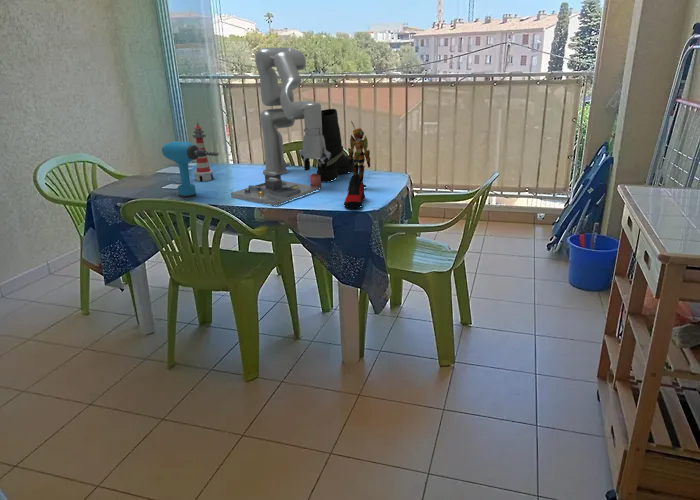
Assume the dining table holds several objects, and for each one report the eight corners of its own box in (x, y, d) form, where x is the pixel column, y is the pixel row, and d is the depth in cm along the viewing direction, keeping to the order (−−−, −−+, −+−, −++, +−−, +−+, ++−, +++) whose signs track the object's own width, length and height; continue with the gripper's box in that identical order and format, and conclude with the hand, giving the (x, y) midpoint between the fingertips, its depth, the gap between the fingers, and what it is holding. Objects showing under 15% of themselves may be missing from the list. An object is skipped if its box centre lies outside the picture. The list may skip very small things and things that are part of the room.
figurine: (373, 188, 229) (373, 119, 218) (366, 192, 223) (366, 122, 212) (352, 185, 234) (351, 118, 223) (345, 189, 228) (343, 120, 217)
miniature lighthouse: (217, 177, 255) (210, 115, 244) (210, 181, 246) (203, 118, 235) (199, 177, 256) (191, 115, 245) (192, 181, 247) (183, 118, 236)
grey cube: (273, 188, 224) (273, 176, 222) (282, 189, 221) (281, 177, 219) (265, 190, 220) (264, 178, 218) (274, 192, 218) (273, 180, 216)
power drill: (229, 196, 220) (223, 142, 212) (216, 201, 213) (210, 145, 204) (176, 191, 230) (169, 139, 222) (163, 196, 223) (155, 142, 214)
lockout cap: (315, 186, 234) (314, 172, 231) (322, 188, 231) (322, 173, 229) (308, 189, 230) (307, 174, 228) (316, 190, 228) (316, 175, 225)
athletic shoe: (341, 211, 198) (341, 181, 193) (348, 197, 217) (347, 169, 212) (361, 211, 197) (361, 181, 193) (366, 197, 216) (365, 169, 211)
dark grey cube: (273, 182, 234) (272, 170, 233) (281, 183, 232) (280, 172, 230) (265, 184, 231) (264, 173, 229) (273, 185, 228) (272, 174, 226)
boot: (360, 170, 267) (362, 105, 255) (329, 185, 238) (330, 112, 225) (339, 167, 272) (340, 103, 259) (307, 181, 242) (306, 110, 230)
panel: (276, 183, 240) (275, 176, 239) (319, 191, 226) (319, 183, 225) (231, 197, 219) (230, 189, 218) (275, 206, 205) (275, 198, 203)
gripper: (292, 132, 223) (295, 171, 229) (323, 134, 214) (325, 174, 219) (304, 130, 229) (306, 168, 235) (334, 132, 219) (336, 171, 225)
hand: (315, 171), depth 227 cm, fingers open, 9 cm apart
